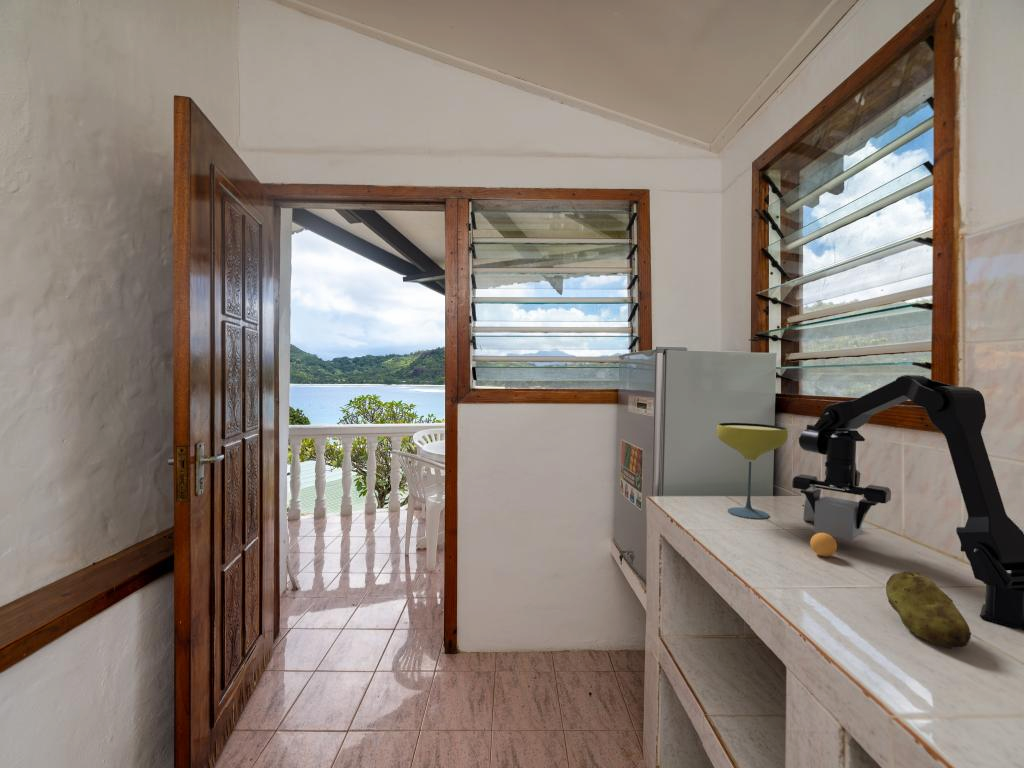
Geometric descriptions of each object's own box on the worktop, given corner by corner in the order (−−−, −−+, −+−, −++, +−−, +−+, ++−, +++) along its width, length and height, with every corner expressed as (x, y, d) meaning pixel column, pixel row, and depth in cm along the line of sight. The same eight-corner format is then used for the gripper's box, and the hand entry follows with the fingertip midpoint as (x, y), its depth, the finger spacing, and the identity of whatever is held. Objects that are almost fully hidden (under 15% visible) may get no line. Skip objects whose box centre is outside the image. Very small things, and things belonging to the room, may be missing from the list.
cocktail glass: (794, 525, 133) (798, 431, 132) (722, 520, 136) (726, 428, 135) (770, 507, 151) (774, 424, 150) (707, 503, 153) (710, 421, 153)
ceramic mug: (838, 529, 131) (840, 499, 131) (802, 523, 135) (804, 494, 135) (839, 520, 140) (840, 492, 139) (805, 514, 144) (806, 488, 144)
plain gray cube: (852, 540, 112) (853, 508, 112) (813, 531, 118) (815, 501, 118) (861, 533, 118) (862, 502, 117) (824, 525, 123) (825, 496, 123)
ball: (832, 561, 107) (833, 538, 107) (806, 555, 111) (807, 532, 111) (839, 556, 111) (840, 533, 111) (813, 550, 114) (814, 528, 114)
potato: (904, 646, 74) (907, 592, 74) (878, 608, 86) (881, 562, 86) (976, 659, 71) (979, 604, 71) (939, 618, 83) (941, 571, 83)
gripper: (897, 460, 116) (894, 527, 116) (807, 449, 130) (805, 509, 130) (886, 465, 108) (883, 537, 109) (792, 453, 122) (790, 517, 122)
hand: (837, 524), depth 118 cm, fingers closed on plain gray cube, 8 cm apart
